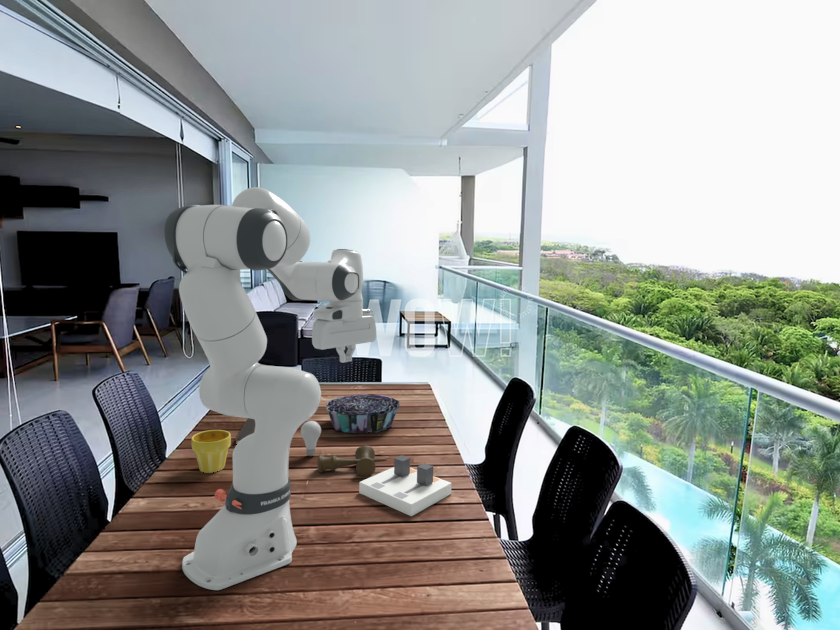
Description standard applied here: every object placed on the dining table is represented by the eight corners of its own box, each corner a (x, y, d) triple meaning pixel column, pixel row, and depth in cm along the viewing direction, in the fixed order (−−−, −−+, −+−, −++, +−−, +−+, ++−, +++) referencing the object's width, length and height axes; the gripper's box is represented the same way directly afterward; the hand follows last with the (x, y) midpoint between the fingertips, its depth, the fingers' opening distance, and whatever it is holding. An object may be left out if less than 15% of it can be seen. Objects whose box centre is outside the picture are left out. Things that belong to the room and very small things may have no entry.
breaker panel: (411, 516, 123) (411, 504, 122) (359, 493, 134) (359, 481, 134) (451, 493, 135) (451, 482, 135) (400, 474, 146) (400, 463, 146)
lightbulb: (316, 460, 154) (316, 425, 153) (297, 458, 156) (297, 423, 154) (324, 453, 160) (324, 419, 159) (305, 451, 161) (305, 417, 160)
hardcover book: (235, 446, 166) (234, 439, 165) (248, 423, 188) (248, 417, 188) (286, 445, 168) (285, 438, 168) (292, 422, 191) (292, 416, 190)
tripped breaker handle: (425, 486, 132) (426, 469, 131) (416, 482, 134) (417, 466, 133) (433, 482, 134) (433, 466, 134) (424, 479, 136) (424, 463, 136)
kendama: (318, 466, 152) (386, 462, 154) (316, 481, 142) (388, 477, 145) (318, 447, 151) (386, 443, 154) (315, 461, 141) (388, 456, 144)
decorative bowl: (408, 438, 181) (410, 410, 180) (330, 440, 171) (332, 411, 170) (386, 416, 205) (388, 392, 204) (317, 417, 195) (319, 391, 194)
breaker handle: (402, 477, 137) (402, 461, 136) (394, 473, 139) (394, 458, 138) (409, 473, 139) (410, 458, 139) (401, 470, 141) (401, 455, 141)
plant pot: (211, 479, 140) (210, 444, 139) (184, 471, 145) (183, 438, 143) (239, 465, 150) (238, 433, 149) (212, 459, 154) (212, 427, 153)
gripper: (365, 307, 147) (365, 355, 148) (308, 312, 131) (308, 365, 133) (381, 309, 143) (381, 358, 144) (324, 314, 127) (324, 369, 129)
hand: (345, 361), depth 138 cm, fingers closed
